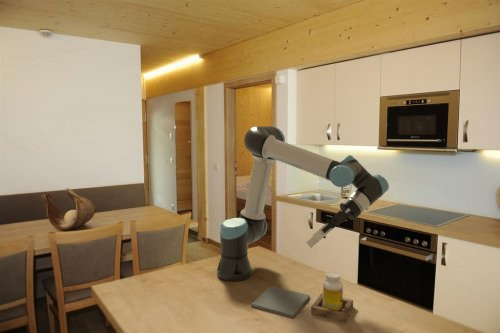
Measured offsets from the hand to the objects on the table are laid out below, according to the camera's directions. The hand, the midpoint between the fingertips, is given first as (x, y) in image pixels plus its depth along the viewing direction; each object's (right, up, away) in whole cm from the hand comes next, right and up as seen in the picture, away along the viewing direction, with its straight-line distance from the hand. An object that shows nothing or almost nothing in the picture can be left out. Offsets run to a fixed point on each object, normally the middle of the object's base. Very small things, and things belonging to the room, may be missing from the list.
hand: (311, 241), depth 125 cm
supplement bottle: (+7, -23, -3) cm, 24 cm away
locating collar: (+7, -23, -3) cm, 24 cm away
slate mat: (-11, -23, +3) cm, 25 cm away
